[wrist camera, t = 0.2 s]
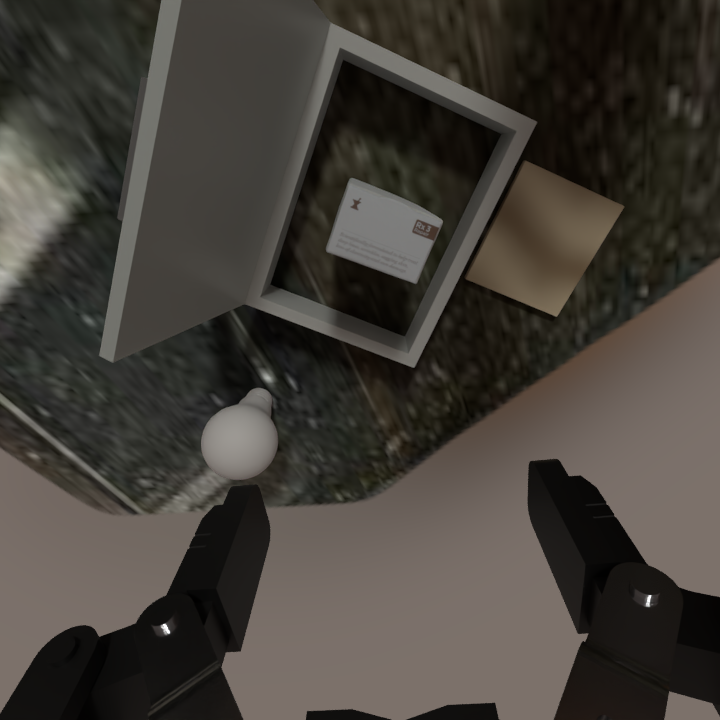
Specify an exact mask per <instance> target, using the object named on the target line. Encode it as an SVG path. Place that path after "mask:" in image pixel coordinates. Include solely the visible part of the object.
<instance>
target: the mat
mask: <svg viewBox="0 0 720 720" xmlns="http://www.w3.org/2000/svg"><path fill="white" fill-rule="evenodd" d="M624 207H625V206H622V205H620V204H618V203H616V202H614V201H612V200H610V199H607V198H605V197H603V196H601V195H599V194H597V193H594V192H592V191H590V190H588V189H586V188H584V187H582V186H579V185H577V184H575V183H573V182H571V181H569V180H566V179H564V178H562V177H560V176H558V175H556V174H554V173H551V172H549V171H547V170H545V169H543V168H541V167H538V166H536V165H534V164H532V163H530V162H528V161H523V162H522V164H521V166H520V168H519V170H518V172H517V174H516V176H515V178H514V180H513V182H512V184H511V186H510V188H509V190H508V192H507V194H506V196H505V198H504V200H503V202H502V204H501V205H500V207H499V209H498V211H497V213H496V215H495V217H494V219H493V221H492V223H491V225H490V227H489V229H488V231H487V233H486V235H485V237H484V239H483V241H482V243H481V245H480V247H479V249H478V251H477V253H476V255H475V257H474V259H473V261H472V263H471V265H470V267H469V269H468V271H467V273H466V275H465V277H464V278H465V279H467V280H469V281H472V282H474V283H476V284H479V285H481V286H484V287H486V288H488V289H491V290H493V291H496V292H498V293H500V294H503V295H505V296H508V297H510V298H513V299H515V300H517V301H520V302H522V303H525V304H527V305H529V306H532V307H534V308H537V309H539V310H541V311H544V312H546V313H549V314H551V315H554V316H556V317H557V316H558V314H559V312H560V311H561V309H562V307H563V306H564V304H565V303H566V301H567V299H568V298H569V296H570V294H571V293H572V291H573V290H574V288H575V286H576V285H577V283H578V281H579V280H580V278H581V277H582V275H583V273H584V272H585V270H586V268H587V267H588V265H589V264H590V262H591V260H592V259H593V257H594V255H595V254H596V252H597V251H598V249H599V247H600V246H601V244H602V242H603V241H604V239H605V237H606V236H607V234H608V233H609V231H610V229H611V228H612V226H613V224H614V223H615V221H616V220H617V218H618V216H619V215H620V213H621V211H622V210H623V208H624Z"/></svg>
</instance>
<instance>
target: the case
mask: <svg viewBox="0 0 720 720" xmlns="http://www.w3.org/2000/svg"><path fill="white" fill-rule="evenodd" d="M343 60H345V61H347V62H349V63H351V64H353V65H355V66H357V67H360V68H362V69H364V70H366V71H368V72H370V73H372V74H375V75H377V76H379V77H381V78H383V79H385V80H387V81H389V82H392V83H394V84H396V85H398V86H400V87H402V88H404V89H406V90H409V91H411V92H413V93H415V94H417V95H419V96H421V97H424V98H426V99H428V100H430V101H432V102H434V103H436V104H438V105H441V106H443V107H445V108H447V109H449V110H451V111H453V112H455V113H458V114H460V115H462V116H464V117H466V118H468V119H470V120H473V121H475V122H477V123H479V124H481V125H483V126H485V127H487V128H490V129H492V130H494V131H496V132H498V133H500V134H501V136H500V138H499V140H498V142H497V144H496V146H495V148H494V150H493V152H492V155H491V157H490V159H489V161H488V163H487V165H486V167H485V169H484V171H483V173H482V176H481V178H480V180H479V182H478V184H477V186H476V188H475V190H474V192H473V194H472V197H471V199H470V201H469V203H468V205H467V207H466V209H465V211H464V213H463V216H462V218H461V220H460V222H459V224H458V226H457V228H456V230H455V232H454V234H453V237H452V239H451V241H450V243H449V245H448V247H447V249H446V251H445V253H444V255H443V258H442V260H441V262H440V264H439V266H438V268H437V270H436V272H435V274H434V276H433V279H432V281H431V283H430V285H429V287H428V289H427V291H426V293H425V295H424V298H423V300H422V302H421V304H420V306H419V308H418V310H417V312H416V314H415V316H414V319H413V321H412V323H411V325H410V327H409V329H408V331H407V333H406V335H405V337H404V336H402V335H399V334H397V333H394V332H391V331H389V330H386V329H384V328H381V327H378V326H376V325H373V324H371V323H368V322H366V321H363V320H360V319H358V318H355V317H353V316H350V315H347V314H345V313H342V312H340V311H337V310H335V309H332V308H329V307H327V306H324V305H322V304H319V303H316V302H314V301H311V300H309V299H306V298H304V297H301V296H298V295H296V294H293V293H291V292H288V291H285V290H283V289H280V288H278V287H275V286H273V285H270V284H271V281H272V277H273V274H274V271H275V268H276V265H277V262H278V259H279V256H280V253H281V250H282V247H283V244H284V240H285V237H286V234H287V231H288V228H289V225H290V222H291V219H292V216H293V213H294V210H295V207H296V203H297V200H298V197H299V194H300V191H301V188H302V185H303V182H304V179H305V176H306V173H307V170H308V166H309V163H310V160H311V157H312V154H313V151H314V148H315V145H316V142H317V139H318V136H319V133H320V130H321V126H322V123H323V120H324V117H325V114H326V111H327V108H328V105H329V102H330V99H331V96H332V93H333V89H334V86H335V83H336V80H337V77H338V74H339V71H340V68H341V65H342V62H343ZM536 124H537V122H536V121H534V120H532V119H530V118H528V117H526V116H524V115H522V114H520V113H518V112H516V111H514V110H511V109H509V108H507V107H505V106H503V105H501V104H499V103H497V102H495V101H493V100H491V99H489V98H486V97H484V96H482V95H480V94H478V93H476V92H474V91H472V90H470V89H468V88H466V87H463V86H461V85H459V84H457V83H455V82H453V81H451V80H449V79H447V78H445V77H443V76H441V75H438V74H436V73H434V72H432V71H430V70H428V69H426V68H424V67H422V66H420V65H418V64H416V63H413V62H411V61H409V60H407V59H405V58H403V57H401V56H399V55H397V54H395V53H393V52H390V51H388V50H386V49H384V48H382V47H380V46H378V45H376V44H374V43H372V42H370V41H368V40H365V39H363V38H361V37H359V36H357V35H355V34H353V33H351V32H349V31H347V30H345V29H343V28H340V27H338V26H336V25H334V24H332V23H331V24H330V27H329V30H328V33H327V37H326V40H325V43H324V46H323V50H322V53H321V56H320V59H319V63H318V66H317V69H316V73H315V76H314V79H313V82H312V86H311V89H310V92H309V95H308V99H307V102H306V105H305V108H304V112H303V115H302V118H301V122H300V125H299V128H298V131H297V135H296V138H295V141H294V144H293V148H292V151H291V154H290V158H289V161H288V164H287V167H286V171H285V174H284V177H283V180H282V184H281V187H280V190H279V193H278V197H277V200H276V203H275V207H274V210H273V213H272V216H271V220H270V223H269V226H268V229H267V233H266V236H265V239H264V243H263V246H262V249H261V252H260V256H259V259H258V262H257V265H256V269H255V272H254V275H253V278H252V282H251V285H250V288H249V292H248V295H247V298H246V301H245V304H246V305H249V306H251V307H254V308H257V309H259V310H262V311H265V312H267V313H270V314H273V315H275V316H278V317H281V318H283V319H286V320H288V321H291V322H294V323H296V324H299V325H302V326H304V327H307V328H310V329H312V330H315V331H318V332H320V333H323V334H326V335H328V336H331V337H333V338H336V339H339V340H341V341H344V342H347V343H349V344H352V345H355V346H357V347H360V348H363V349H365V350H368V351H370V352H373V353H376V354H378V355H381V356H384V357H386V358H389V359H392V360H394V361H397V362H400V363H402V364H405V365H408V366H410V367H413V368H414V367H415V365H416V363H417V361H418V359H419V357H420V355H421V353H422V351H423V349H424V347H425V345H426V343H427V341H428V339H429V337H430V335H431V333H432V331H433V329H434V327H435V325H436V323H437V321H438V319H439V317H440V315H441V313H442V311H443V309H444V307H445V305H446V303H447V301H448V299H449V297H450V295H451V293H452V291H453V289H454V287H455V285H456V283H457V281H458V279H459V277H460V275H461V273H462V271H463V269H464V267H465V265H466V263H467V261H468V259H469V257H470V255H471V253H472V251H473V249H474V247H475V245H476V243H477V241H478V239H479V237H480V235H481V233H482V231H483V229H484V227H485V225H486V223H487V221H488V219H489V217H490V215H491V213H492V211H493V209H494V207H495V205H496V203H497V201H498V199H499V197H500V195H501V193H502V191H503V189H504V187H505V185H506V183H507V181H508V179H509V177H510V175H511V173H512V171H513V169H514V167H515V165H516V163H517V161H518V159H519V157H520V155H521V153H522V151H523V149H524V147H525V145H526V143H527V141H528V139H529V137H530V135H531V133H532V131H533V130H534V128H535V126H536Z"/></svg>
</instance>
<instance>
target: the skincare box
mask: <svg viewBox="0 0 720 720" xmlns="http://www.w3.org/2000/svg"><path fill="white" fill-rule="evenodd" d="M442 224H443V221H442V220H441V219H440V218H439V217H437V216H435V215H434V214H432V213H430V212H429V211H427V210H425V209H423V208H422V207H420V206H418V205H417V204H415V203H412V202H410V201H408V200H406V199H403V198H401V197H399V196H396V195H394V194H392V193H389V192H387V191H384V190H382V189H379V188H377V187H374V186H372V185H369V184H367V183H364V182H362V181H359V180H357V179H354V178H350V180H349V182H348V184H347V187H346V190H345V193H344V195H343V198H342V201H341V204H340V206H339V209H338V212H337V215H336V219H335V222H334V225H333V229H332V232H331V235H330V238H329V241H328V244H327V247H326V251H327V252H328V253H331V254H334V255H336V256H339V257H342V258H345V259H348V260H350V261H353V262H356V263H359V264H361V265H364V266H367V267H370V268H372V269H375V270H378V271H381V272H383V273H386V274H389V275H392V276H395V277H397V278H400V279H403V280H406V281H409V282H412V283H414V284H416V283H417V282H418V279H419V277H420V274H421V272H422V270H423V267H424V265H425V263H426V260H427V258H428V256H429V253H430V251H431V249H432V247H433V244H434V242H435V240H436V238H437V235H438V233H439V231H440V229H441V226H442Z"/></svg>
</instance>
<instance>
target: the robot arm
mask: <svg viewBox="0 0 720 720" xmlns="http://www.w3.org/2000/svg"><path fill="white" fill-rule="evenodd" d="M528 475H529V476H528V511H529V516H530V520H531V523H532V526H533V528H534V531H535V533H536V535H537V538H538V540H539V542H540V544H541V547H542V549H543V552H544V554H545V557H546V559H547V561H548V564H549V566H550V568H551V571H552V573H553V576H554V578H555V580H556V583H557V585H558V587H559V590H560V592H561V595H562V597H563V599H564V602H565V604H566V606H567V609H568V611H569V614H570V616H571V618H572V621H573V623H574V625H575V628H576V630H577V633H578V634H582V633H583V634H584V633H589V634H588V637H587V639H586V641H585V642H584V641H583V642H582V643H581V645H580V647H579V650H578V653H577V655H576V658H575V661H574V664H573V667H572V669H571V672H570V675H569V678H568V681H567V683H566V686H565V690H564V692H563V695H562V698H561V701H560V703H559V706H558V709H557V712H556V715H555V718H554V720H664V718H665V712H666V706H667V701H668V694H669V691H670V692H674V693H678V694H681V695H685V696H688V697H692V698H696V699H699V700H703V701H706V702H710V703H713V705H714V706H715V709H716V710H717V712H718V714H719V715H720V597H716V596H711V595H706V594H701V593H696V592H692V591H688V590H685V589H682V588H679V587H678V586H677V585H676V584H675V582H674V581H673V580H672V579H671V578H669V577H668V576H667V575H666V574H664V573H663V572H661V571H659V570H658V569H656V568H654V567H651V566H648V564H647V563H646V562H645V560H644V559H643V557H642V556H641V554H640V553H639V551H638V550H637V548H636V547H635V545H634V544H633V542H632V541H631V539H630V538H629V536H628V535H627V533H626V532H625V530H624V528H623V527H622V525H621V524H620V522H619V521H618V519H617V518H616V517H615V516H614V513H613V512H612V510H611V509H610V507H609V506H608V505H607V504H606V501H605V500H604V498H603V497H602V495H601V494H600V492H599V490H598V489H597V488H596V487H595V486H594V485H592V484H591V483H590V482H589V481H587V480H586V479H584V478H583V477H582V476H568V474H567V473H566V471H565V469H564V467H563V466H562V464H561V462H560V461H559V460H558V459H550V460H538V461H530V463H529V473H528ZM269 542H270V524H269V520H268V516H267V513H266V509H265V506H264V502H263V499H262V495H261V492H260V489H259V487H258V485H256V484H255V485H244V486H233V487H231V488H230V490H229V492H228V494H227V497H226V499H225V501H224V504H223V505H215V506H214V507H213V508H212V509H211V510H210V511H209V512H208V513H207V514H206V515H205V516H204V518H202V520H201V522H200V524H199V526H198V529H197V531H196V533H195V537H194V538H193V539H192V541H191V544H190V548H189V549H188V550H187V552H186V554H185V557H184V559H183V561H182V563H181V565H180V567H179V569H178V571H177V574H176V576H175V578H174V580H173V582H172V584H171V586H170V589H169V591H168V593H167V595H166V596H164V597H162V598H160V599H158V600H156V601H155V602H153V603H152V604H151V605H149V606H148V607H147V608H146V609H145V610H144V611H143V613H142V614H141V615H140V617H139V618H138V620H137V622H136V623H135V624H133V625H131V626H128V627H126V628H123V629H120V630H117V631H114V632H112V633H109V634H106V635H103V636H101V637H99V636H98V634H97V632H96V631H95V629H94V628H92V627H90V626H86V625H83V626H76V627H72V628H70V629H67V630H65V631H64V632H62V633H60V634H58V635H57V636H55V637H54V638H53V639H51V640H50V641H49V642H48V643H47V644H46V645H45V646H44V647H43V648H42V649H41V650H40V652H38V654H37V655H36V657H35V658H34V660H33V661H32V663H31V665H30V666H29V668H28V670H27V671H26V673H25V674H24V676H23V678H22V679H21V681H20V682H19V684H18V686H17V687H16V689H15V691H14V692H13V694H12V695H11V697H10V699H9V701H8V702H7V704H6V705H5V707H4V708H3V710H2V712H1V713H0V720H243V718H242V716H241V713H240V710H239V708H238V706H237V703H236V701H235V699H234V696H233V694H232V692H231V689H230V687H229V684H228V682H227V680H226V677H225V675H224V673H223V670H222V668H221V667H222V663H223V660H224V657H225V653H226V652H238V651H241V648H242V644H243V640H244V636H245V632H246V629H247V625H248V621H249V618H250V614H251V610H252V606H253V603H254V599H255V595H256V591H257V588H258V584H259V580H260V577H261V573H262V569H263V565H264V561H265V558H266V554H267V550H268V547H269ZM306 720H391V719H387V718H383V717H379V716H375V715H372V714H368V713H364V712H360V711H356V710H353V709H348V710H326V711H307V715H306ZM407 720H499V719H498V714H497V710H496V705H495V703H485V704H484V703H483V704H462V705H461V704H460V705H446V706H444V707H441V708H438V709H435V710H432V711H430V712H427V713H424V714H421V715H418V716H416V717H413V718H410V719H407Z"/></svg>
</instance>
